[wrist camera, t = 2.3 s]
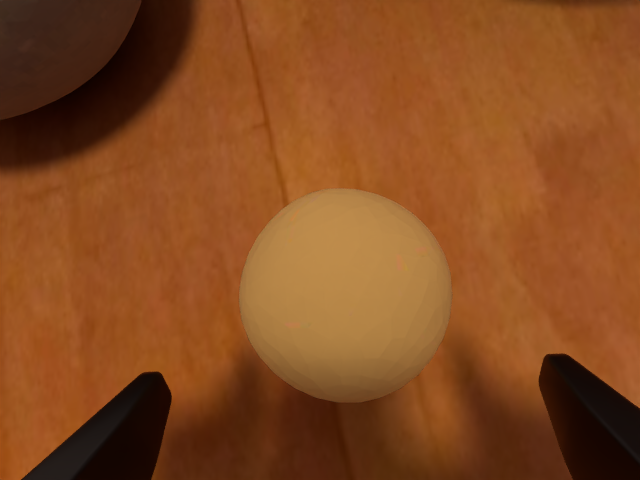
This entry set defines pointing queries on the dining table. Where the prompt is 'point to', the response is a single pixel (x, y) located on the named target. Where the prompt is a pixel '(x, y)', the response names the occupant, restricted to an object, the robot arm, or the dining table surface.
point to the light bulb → (345, 295)
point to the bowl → (56, 47)
